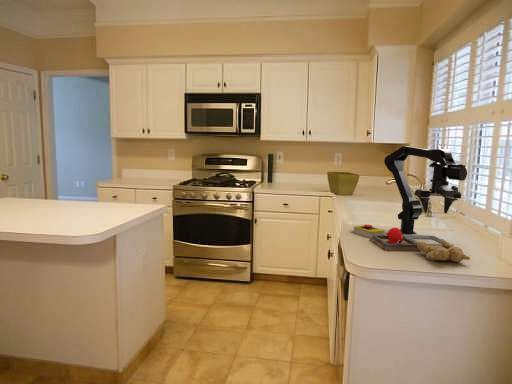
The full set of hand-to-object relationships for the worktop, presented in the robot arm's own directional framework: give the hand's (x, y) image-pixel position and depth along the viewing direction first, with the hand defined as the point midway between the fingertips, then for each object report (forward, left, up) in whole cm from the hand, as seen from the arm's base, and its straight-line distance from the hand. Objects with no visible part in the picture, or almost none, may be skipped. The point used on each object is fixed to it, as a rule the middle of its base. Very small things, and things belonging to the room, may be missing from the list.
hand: (435, 213), depth 166 cm
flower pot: (-132, +2, -12) cm, 133 cm away
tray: (+6, -6, -12) cm, 15 cm away
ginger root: (+29, -13, -12) cm, 34 cm away
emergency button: (-7, -27, -13) cm, 30 cm away
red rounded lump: (+11, -23, -11) cm, 28 cm away
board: (+11, -23, -12) cm, 28 cm away
